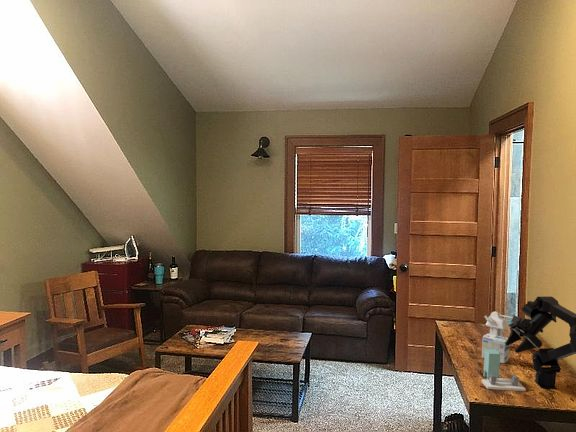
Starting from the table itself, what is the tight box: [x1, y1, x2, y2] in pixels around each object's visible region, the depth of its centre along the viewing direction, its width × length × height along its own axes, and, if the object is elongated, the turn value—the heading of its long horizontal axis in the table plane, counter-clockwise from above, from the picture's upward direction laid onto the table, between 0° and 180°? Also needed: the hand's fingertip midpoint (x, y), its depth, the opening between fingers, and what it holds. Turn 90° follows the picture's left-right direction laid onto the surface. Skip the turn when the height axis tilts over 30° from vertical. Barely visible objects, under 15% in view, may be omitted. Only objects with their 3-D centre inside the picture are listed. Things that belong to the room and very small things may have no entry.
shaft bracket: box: [481, 374, 527, 392], centre depth 192 cm, size 15×7×4 cm, turn 86°
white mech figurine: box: [483, 311, 514, 337], centre depth 238 cm, size 12×13×18 cm
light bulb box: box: [481, 333, 510, 364], centre depth 222 cm, size 11×7×11 cm, turn 47°
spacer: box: [483, 349, 501, 380], centre depth 199 cm, size 4×5×12 cm
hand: (510, 348), depth 198 cm, fingers open, 9 cm apart
